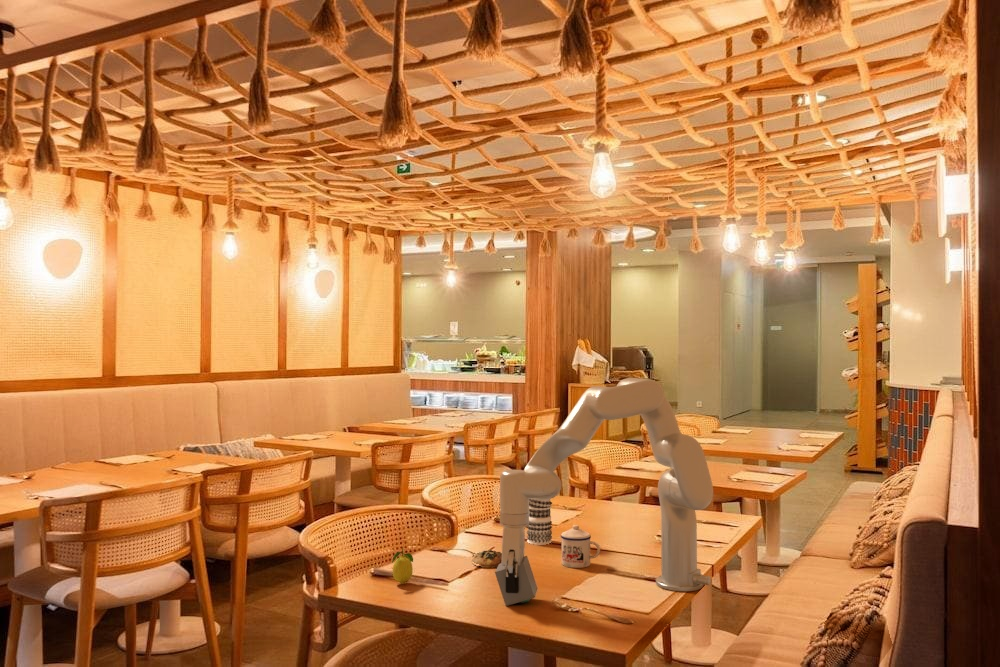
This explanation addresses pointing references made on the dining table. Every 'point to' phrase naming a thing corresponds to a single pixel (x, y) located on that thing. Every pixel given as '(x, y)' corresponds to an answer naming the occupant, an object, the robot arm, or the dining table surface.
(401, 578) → the lemon
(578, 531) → the teacup with lid
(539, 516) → the decorative candle
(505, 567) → the upright gray block
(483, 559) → the bread roll
